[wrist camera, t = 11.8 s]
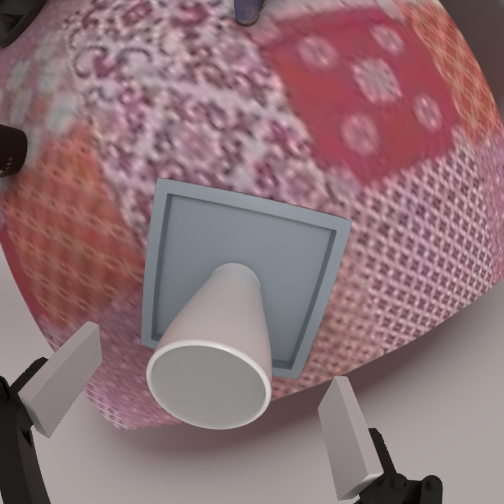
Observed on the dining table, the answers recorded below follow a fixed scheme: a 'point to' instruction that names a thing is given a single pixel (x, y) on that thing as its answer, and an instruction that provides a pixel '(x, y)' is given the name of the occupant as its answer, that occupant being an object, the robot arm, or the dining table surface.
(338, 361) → the dining table surface
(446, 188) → the dining table surface
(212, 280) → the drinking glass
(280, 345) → the tray
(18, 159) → the coffee mug
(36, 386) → the robot arm
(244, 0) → the flask
